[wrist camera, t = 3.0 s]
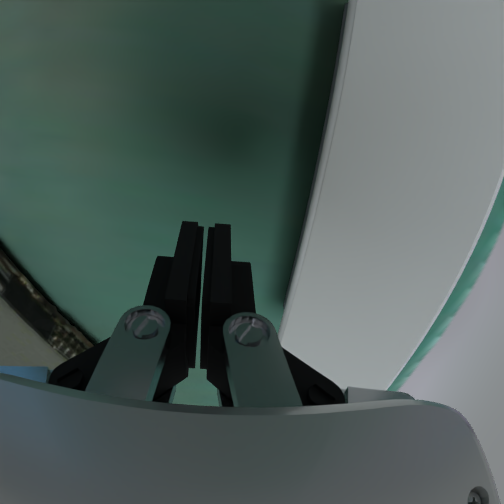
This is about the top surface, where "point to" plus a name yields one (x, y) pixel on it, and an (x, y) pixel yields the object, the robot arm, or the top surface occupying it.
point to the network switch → (32, 324)
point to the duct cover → (398, 184)
